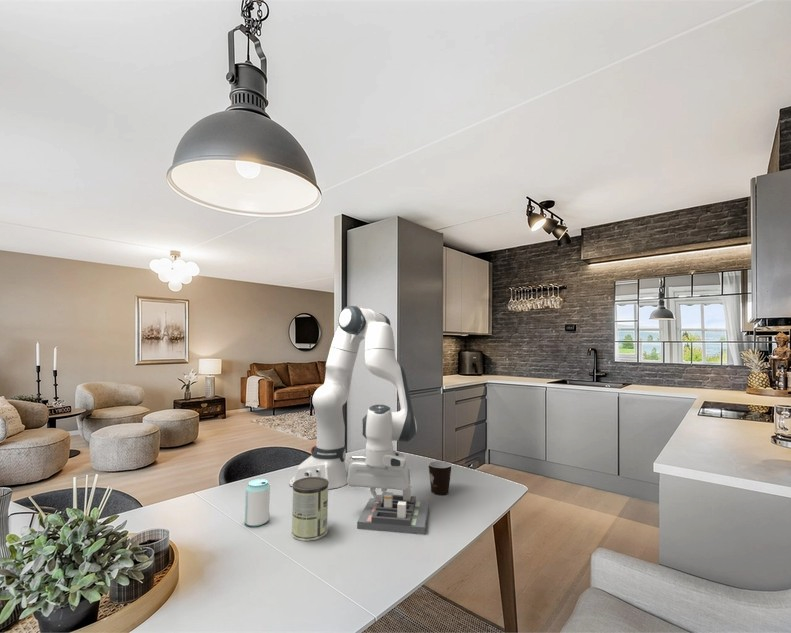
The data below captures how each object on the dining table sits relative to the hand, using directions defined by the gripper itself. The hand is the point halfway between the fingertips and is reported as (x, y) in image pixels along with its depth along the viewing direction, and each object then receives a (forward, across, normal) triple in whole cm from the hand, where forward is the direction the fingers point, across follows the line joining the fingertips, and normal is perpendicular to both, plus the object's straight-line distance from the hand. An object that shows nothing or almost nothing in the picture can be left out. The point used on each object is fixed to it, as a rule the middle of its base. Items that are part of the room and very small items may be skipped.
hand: (378, 501), depth 124 cm
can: (+5, -36, -10) cm, 38 cm away
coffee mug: (+5, +18, +26) cm, 32 cm away
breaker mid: (+2, +3, 0) cm, 4 cm away
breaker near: (+2, +8, -6) cm, 11 cm away
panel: (+5, +5, 0) cm, 7 cm away
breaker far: (+2, +8, +7) cm, 11 cm away
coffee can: (+5, -18, -14) cm, 23 cm away
